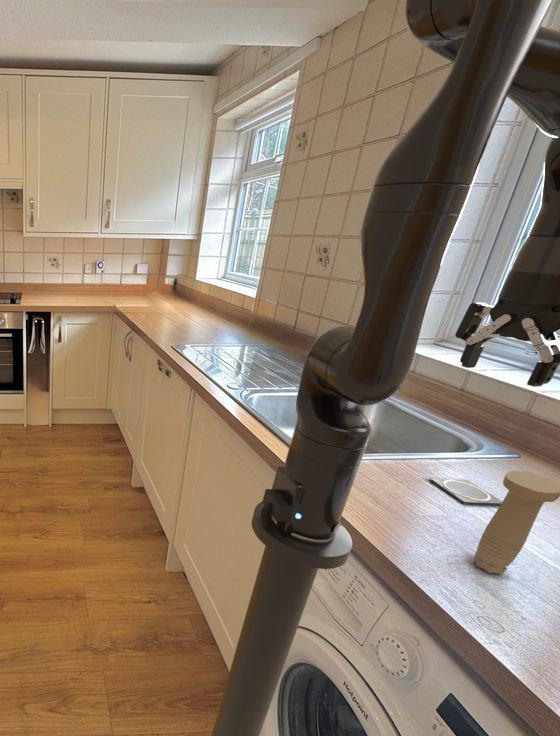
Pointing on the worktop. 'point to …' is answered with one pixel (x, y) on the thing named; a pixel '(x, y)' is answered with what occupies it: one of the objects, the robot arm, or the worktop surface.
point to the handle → (514, 519)
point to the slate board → (466, 492)
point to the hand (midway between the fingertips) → (499, 375)
